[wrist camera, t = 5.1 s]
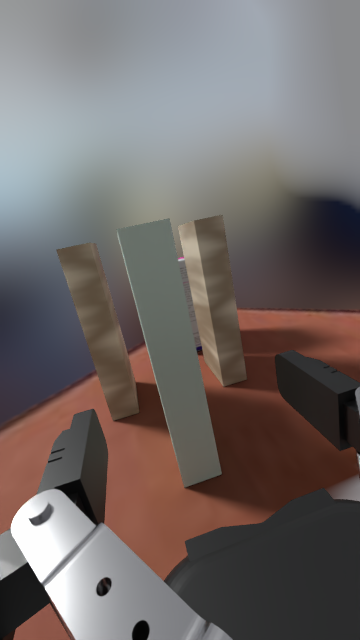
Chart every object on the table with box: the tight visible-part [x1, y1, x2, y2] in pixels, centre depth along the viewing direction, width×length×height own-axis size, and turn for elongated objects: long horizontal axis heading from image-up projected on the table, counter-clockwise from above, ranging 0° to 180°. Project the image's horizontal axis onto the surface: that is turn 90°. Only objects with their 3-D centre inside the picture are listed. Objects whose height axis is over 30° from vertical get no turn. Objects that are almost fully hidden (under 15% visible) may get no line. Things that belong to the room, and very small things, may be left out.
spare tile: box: [117, 219, 222, 488], centre depth 17 cm, size 2×6×15 cm, turn 12°
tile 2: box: [178, 215, 247, 386], centre depth 27 cm, size 2×6×15 cm, turn 12°
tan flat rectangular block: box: [57, 243, 139, 421], centre depth 25 cm, size 2×6×15 cm, turn 12°
